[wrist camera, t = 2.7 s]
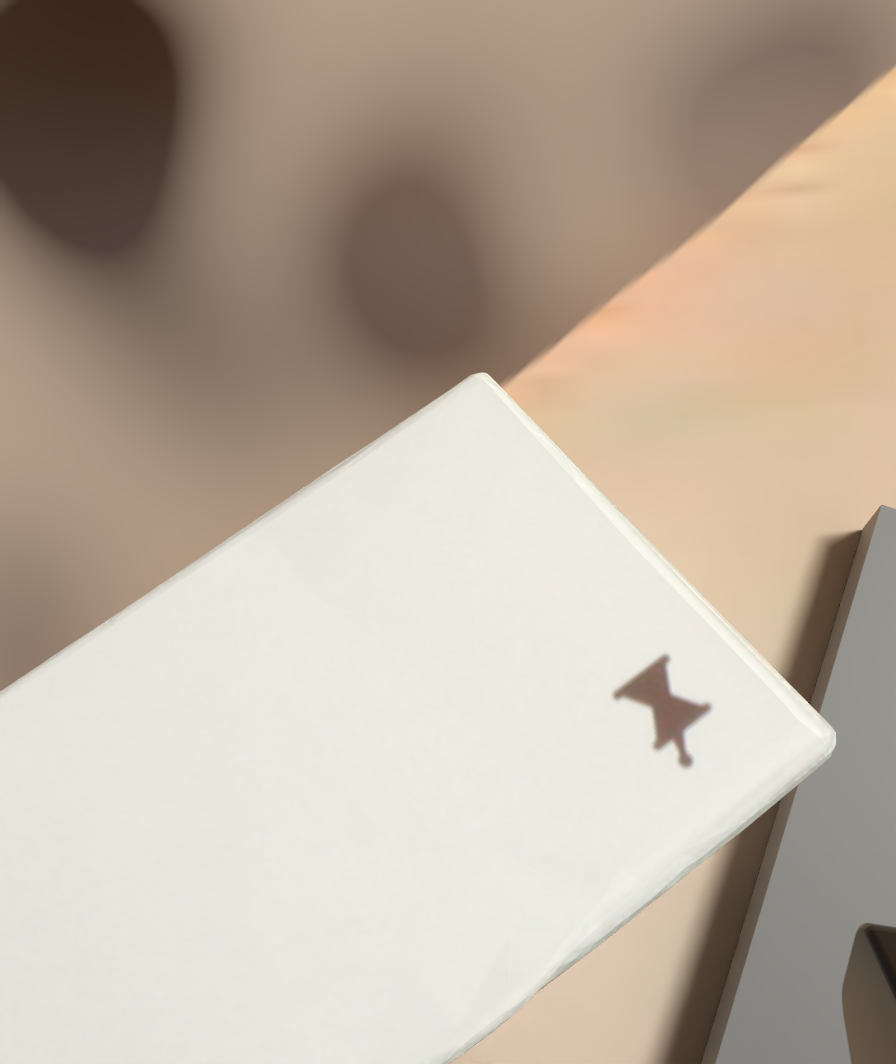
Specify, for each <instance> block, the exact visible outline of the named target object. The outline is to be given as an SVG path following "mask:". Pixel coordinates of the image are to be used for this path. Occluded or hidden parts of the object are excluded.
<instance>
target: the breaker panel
mask: <svg viewBox="0 0 896 1064" xmlns="http://www.w3.org/2000/svg"><path fill="white" fill-rule="evenodd" d="M810 705H811V706H812V707H813V708H814V709H815V710H816V711H817V712H818V713H819V714H820V715H821V716H822V717H823V718H824V719H825V720H826V722H827V723H828V724H829V725H830V726H831V727H832V728H833V729H834V731H835V732H836V745H835V748H834V750H833V752H832V754H831V757H830V758H829V759H828V760H826V761H825V762H824V763H823V764H822V765H821V766H820V767H818V768H817V769H816V770H815V771H814V772H813V773H811V774H810V775H809V776H808V777H807V778H805V779H804V780H803V781H802V782H801V783H799V784H798V785H797V786H796V787H795V788H793V789H792V790H791V791H790V792H789V793H787V794H786V795H785V796H784V797H783V798H781V801H780V804H779V807H778V811H777V814H776V817H775V821H774V824H773V827H772V830H771V834H770V837H769V840H768V844H767V847H766V850H765V854H764V857H763V860H762V863H761V867H760V870H759V873H758V877H757V880H756V883H755V887H754V890H753V893H752V896H751V900H750V903H749V906H748V910H747V913H746V916H745V920H744V923H743V926H742V929H741V933H740V936H739V939H738V943H737V946H736V949H735V953H734V956H733V959H732V962H731V966H730V969H729V972H728V976H727V979H726V982H725V986H724V989H723V992H722V995H721V999H720V1002H719V1005H718V1009H717V1012H716V1015H715V1019H714V1022H713V1025H712V1028H711V1032H710V1035H709V1038H708V1042H707V1045H706V1048H705V1052H704V1055H703V1058H702V1061H701V1064H851V1059H850V1053H849V1047H848V1040H847V1034H846V1028H845V1022H844V1016H843V1009H842V986H843V981H844V977H845V973H846V969H847V965H848V961H849V957H850V953H851V949H852V945H853V941H854V937H855V934H856V931H857V929H858V928H859V926H860V925H862V924H864V923H872V924H879V925H885V926H891V927H896V509H893V508H890V507H887V506H884V505H881V506H880V507H879V509H878V510H877V511H876V512H875V514H874V515H873V516H872V518H871V519H870V520H869V521H868V523H867V524H866V525H865V527H864V528H863V530H862V533H861V537H860V540H859V543H858V547H857V550H856V553H855V557H854V560H853V563H852V566H851V570H850V573H849V576H848V580H847V583H846V586H845V590H844V593H843V596H842V599H841V603H840V606H839V609H838V613H837V616H836V619H835V623H834V626H833V629H832V632H831V636H830V639H829V642H828V646H827V649H826V652H825V656H824V659H823V662H822V665H821V669H820V672H819V675H818V679H817V682H816V685H815V689H814V692H813V695H812V698H811V702H810Z"/></svg>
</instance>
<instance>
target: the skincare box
mask: <svg viewBox="0 0 896 1064" xmlns="http://www.w3.org/2000/svg"><path fill="white" fill-rule="evenodd" d="M835 745H836V732H835V731H834V729H833V728H832V727H831V726H830V725H829V724H828V723H827V722H826V720H825V719H824V718H823V717H822V716H821V715H820V714H819V713H818V712H817V711H816V710H815V709H814V708H813V707H812V706H811V705H810V704H809V703H808V702H807V701H806V700H805V699H804V698H803V697H802V696H801V695H800V694H799V693H798V692H797V691H796V690H795V689H794V688H793V687H792V686H791V685H790V684H789V683H788V682H787V681H786V680H785V679H784V678H783V677H782V676H781V675H780V674H779V673H778V672H777V671H776V670H775V669H774V668H773V667H772V666H771V665H770V664H769V663H768V662H767V661H766V660H765V659H764V658H763V657H762V656H761V655H760V654H759V653H758V652H757V651H756V649H755V648H754V647H753V646H752V645H751V644H750V643H749V642H748V641H747V640H746V639H745V638H744V637H743V636H742V635H741V634H740V633H739V632H738V631H737V630H736V629H735V628H734V627H733V626H732V625H731V624H730V623H729V622H728V621H727V620H726V619H725V618H724V617H723V616H722V615H721V614H720V613H719V612H718V611H717V610H716V609H715V608H714V607H713V606H712V605H711V604H710V603H709V602H708V601H707V600H706V599H705V598H704V597H703V596H702V595H701V594H700V592H699V591H698V590H697V589H696V588H695V587H694V586H693V585H692V584H691V583H690V582H689V581H688V580H687V579H686V578H685V577H684V576H683V575H682V574H681V573H680V572H679V571H678V570H677V569H676V568H675V567H674V566H673V565H672V564H671V563H670V562H669V561H668V560H667V559H666V558H665V557H664V556H663V555H662V554H661V552H660V551H659V550H658V549H657V548H656V547H655V546H654V545H653V544H652V543H651V542H650V541H649V540H648V539H647V538H646V537H645V536H644V535H643V534H642V533H641V532H640V531H639V530H638V529H637V528H636V527H635V526H634V525H633V524H632V523H631V522H630V521H629V520H628V519H627V518H626V517H625V516H624V514H623V513H622V512H621V511H620V510H619V509H618V508H617V507H616V506H615V505H614V504H613V503H612V502H611V501H610V500H609V499H608V498H607V497H606V496H605V495H604V494H603V493H602V492H601V491H600V490H599V489H598V488H597V487H596V486H595V484H594V483H593V482H592V481H591V480H590V479H589V478H588V477H587V476H586V475H585V474H584V473H583V472H582V471H581V470H580V469H579V468H578V467H577V466H576V465H575V464H574V463H573V462H572V461H571V460H570V459H569V458H568V457H567V456H566V455H565V453H564V452H563V451H562V450H561V449H560V448H559V447H558V446H557V445H556V444H555V443H554V442H553V441H552V440H551V439H550V438H549V437H548V436H547V435H546V434H545V433H544V432H543V431H542V430H541V428H540V427H539V426H538V425H537V424H536V423H535V422H534V421H533V420H532V419H531V418H530V417H529V416H528V415H527V414H526V413H525V412H524V411H523V410H522V409H521V408H520V407H519V406H518V404H517V403H516V402H515V401H514V400H513V399H512V398H511V397H510V396H509V395H508V394H507V393H506V392H505V391H504V390H503V389H502V388H501V387H500V386H499V385H498V384H497V383H496V382H495V381H494V380H493V379H492V378H491V377H490V376H489V375H488V374H487V373H477V374H473V375H470V376H469V377H468V378H466V379H465V380H463V381H462V382H460V383H459V384H458V385H456V386H455V387H453V388H452V389H451V390H449V391H448V392H446V393H445V394H444V395H442V396H440V397H439V398H437V399H436V400H435V401H433V402H431V403H430V404H428V405H427V406H425V407H424V408H422V409H421V410H419V411H418V412H416V413H415V414H413V415H412V416H410V417H409V418H407V419H406V420H405V421H403V422H402V423H400V424H399V425H397V426H396V427H394V428H392V429H391V430H390V431H388V432H387V433H385V434H384V435H382V436H381V437H379V438H378V439H376V440H375V441H373V442H372V443H370V444H369V445H367V446H366V447H364V448H362V449H361V450H359V451H358V452H356V453H355V454H353V455H352V456H350V457H349V458H347V459H346V460H344V461H343V462H341V463H340V464H338V465H337V466H335V467H333V468H332V469H331V470H329V471H327V472H326V473H325V474H323V475H322V476H320V477H319V478H317V479H316V480H314V481H313V482H311V483H310V484H308V485H307V486H305V487H304V488H302V489H301V490H300V491H298V492H296V493H295V494H294V495H292V496H291V497H289V498H288V499H286V500H285V501H283V502H282V503H280V504H279V505H277V506H276V507H274V508H273V509H271V510H270V511H268V512H267V513H265V514H264V515H262V516H261V517H260V518H258V519H256V520H255V521H253V522H252V523H251V524H249V525H248V526H246V527H245V528H243V529H242V530H240V531H239V532H237V533H236V534H234V535H233V536H231V537H230V538H228V539H227V540H226V541H224V542H223V543H221V544H220V545H218V546H217V547H215V548H214V549H212V550H211V551H209V552H208V553H206V554H205V555H204V556H202V557H200V558H199V559H198V560H196V561H195V562H193V563H192V564H190V565H189V566H187V567H186V568H184V569H183V570H181V571H180V572H178V573H177V574H175V575H174V576H172V577H171V578H170V579H168V580H167V581H165V582H164V583H162V584H161V585H159V586H158V587H156V588H155V589H153V590H152V591H150V592H149V593H147V594H146V595H144V596H143V597H141V598H140V599H138V600H137V601H135V602H134V603H133V604H131V605H130V606H128V607H127V608H125V609H124V610H122V611H121V612H119V613H118V614H116V615H115V616H113V617H112V618H110V619H108V620H107V621H106V622H104V623H102V624H101V625H99V626H98V627H96V628H95V629H93V630H92V631H90V632H89V633H87V634H86V635H84V636H83V637H81V638H80V639H78V640H77V641H75V642H73V643H72V644H70V645H69V646H67V647H66V648H64V649H63V650H62V651H60V652H58V653H57V654H55V655H54V656H52V657H51V658H50V659H48V660H47V661H45V662H44V663H42V664H41V665H39V666H38V667H36V668H35V669H33V670H32V671H30V672H29V673H28V674H26V675H24V676H23V677H21V678H20V679H18V680H17V681H15V682H14V683H12V684H11V685H10V686H8V687H6V688H5V689H3V690H2V691H1V692H0V1064H449V1063H450V1062H452V1061H453V1060H455V1059H456V1058H458V1057H459V1056H461V1055H462V1054H463V1053H465V1052H466V1051H467V1050H469V1049H470V1048H472V1047H473V1046H474V1045H476V1044H477V1043H479V1042H480V1041H481V1040H483V1039H484V1038H485V1037H487V1036H488V1035H490V1034H491V1033H492V1032H493V1031H494V1030H496V1029H497V1028H498V1027H499V1026H500V1025H501V1024H503V1023H504V1022H505V1021H506V1020H507V1019H509V1018H510V1017H511V1016H512V1015H513V1014H515V1013H516V1012H517V1011H518V1010H519V1009H521V1008H522V1007H523V1006H524V1005H525V1004H526V1003H527V1002H528V1001H529V1000H530V999H531V998H532V997H533V995H534V994H536V993H537V992H538V991H539V990H541V989H542V988H543V987H545V986H546V985H547V984H549V983H550V982H551V981H553V980H554V979H555V978H557V977H558V976H559V975H561V974H562V973H563V972H565V971H566V970H567V969H568V968H570V967H571V966H572V965H574V964H575V963H576V962H578V961H579V960H580V959H582V958H583V957H584V956H586V955H587V954H588V953H590V952H591V951H592V950H594V949H595V948H596V947H597V946H599V945H600V944H601V943H603V942H604V941H605V940H607V939H608V938H609V937H610V936H612V935H613V934H614V933H615V932H616V931H618V930H619V929H620V928H621V927H623V926H624V925H625V924H626V923H628V922H629V921H630V920H631V919H632V918H634V917H635V916H636V915H637V914H639V913H640V912H641V911H642V910H644V909H645V908H646V907H647V906H648V905H650V904H651V903H652V902H653V901H655V900H656V899H657V898H658V897H660V896H661V895H662V894H663V893H665V892H666V891H667V890H668V889H669V888H671V887H672V886H673V885H674V884H676V883H677V882H678V881H679V880H681V879H682V878H683V877H684V876H685V875H687V874H688V873H689V872H690V871H692V870H693V869H694V868H696V867H697V866H698V865H699V864H701V863H702V862H703V861H705V860H706V859H707V858H708V857H710V856H711V855H712V854H714V853H715V852H716V851H717V850H719V849H720V848H721V847H722V846H724V845H725V844H726V843H728V842H729V841H730V840H731V839H733V838H734V837H735V836H737V835H738V834H739V833H740V832H742V831H743V830H744V829H745V828H747V827H748V826H749V825H750V824H751V823H753V822H754V821H755V820H756V819H757V818H759V817H760V816H761V815H762V814H763V813H765V812H766V811H767V810H768V809H769V808H771V807H772V806H773V805H774V804H775V803H777V802H778V801H779V800H780V799H781V798H783V797H784V796H785V795H786V794H787V793H789V792H790V791H791V790H792V789H793V788H795V787H796V786H797V785H798V784H799V783H801V782H802V781H803V780H804V779H805V778H807V777H808V776H809V775H810V774H811V773H813V772H814V771H815V770H816V769H817V768H818V767H820V766H821V765H822V764H823V763H824V762H825V761H826V760H828V759H829V758H830V757H831V754H832V752H833V750H834V748H835Z"/></svg>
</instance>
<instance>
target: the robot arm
mask: <svg viewBox="0 0 896 1064" xmlns="http://www.w3.org/2000/svg"><path fill="white" fill-rule="evenodd" d="M842 1009H843V1016H844V1022H845V1028H846V1034H847V1040H848V1047H849V1053H850V1059H851V1064H896V927H891V926H885V925H879V924H872V923H864V924H862V925H860V926H859V928H858V929H857V931H856V934H855V937H854V941H853V945H852V949H851V953H850V957H849V961H848V965H847V969H846V973H845V977H844V981H843V986H842Z"/></svg>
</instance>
